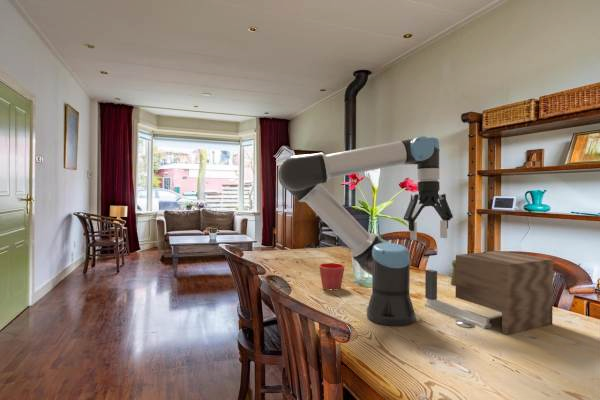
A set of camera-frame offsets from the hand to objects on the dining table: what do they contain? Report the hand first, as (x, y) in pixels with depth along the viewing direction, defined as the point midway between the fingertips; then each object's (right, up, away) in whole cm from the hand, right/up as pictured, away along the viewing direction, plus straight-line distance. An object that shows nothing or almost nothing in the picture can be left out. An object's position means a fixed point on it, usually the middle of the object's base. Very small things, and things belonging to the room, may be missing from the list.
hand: (428, 238), depth 130 cm
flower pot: (-33, -24, +22) cm, 46 cm away
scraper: (+4, -24, -12) cm, 27 cm away
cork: (+23, -24, +28) cm, 43 cm away
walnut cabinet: (+17, -24, -16) cm, 34 cm away
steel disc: (+3, -24, -21) cm, 32 cm away
